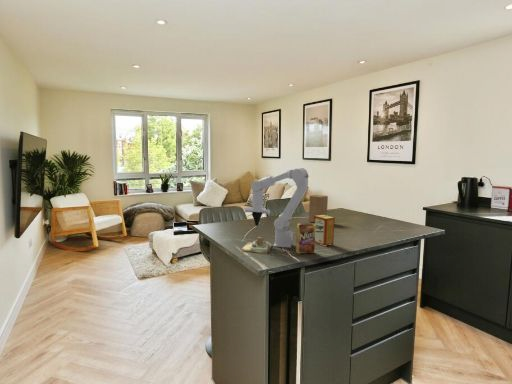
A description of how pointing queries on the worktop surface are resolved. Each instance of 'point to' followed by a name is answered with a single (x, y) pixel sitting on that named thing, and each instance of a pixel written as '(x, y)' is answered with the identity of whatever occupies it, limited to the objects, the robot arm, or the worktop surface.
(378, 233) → the worktop surface
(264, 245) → the keyhole panel
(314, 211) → the wooden block
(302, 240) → the candy box
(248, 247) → the stud board
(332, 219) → the baking soda box
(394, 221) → the worktop surface
